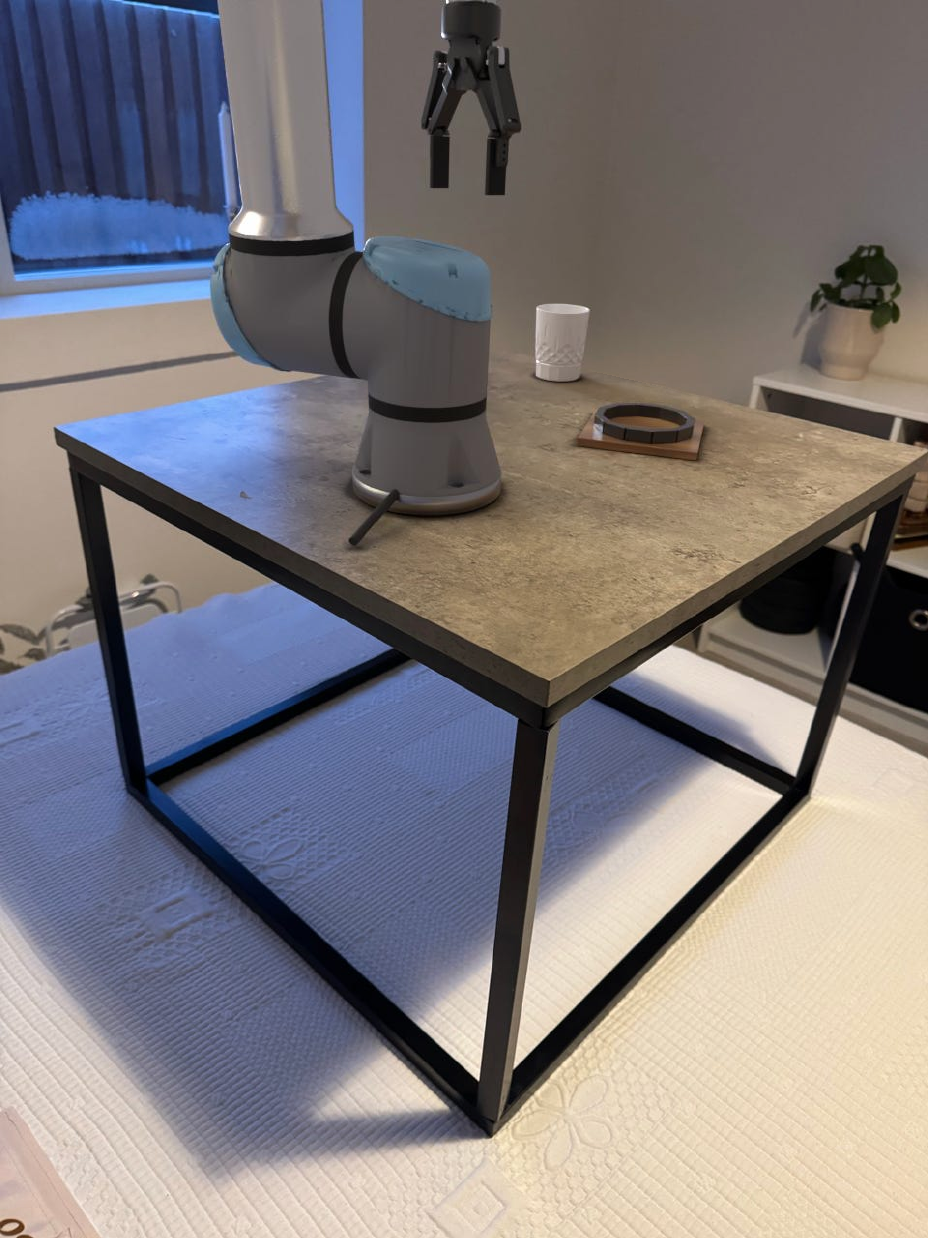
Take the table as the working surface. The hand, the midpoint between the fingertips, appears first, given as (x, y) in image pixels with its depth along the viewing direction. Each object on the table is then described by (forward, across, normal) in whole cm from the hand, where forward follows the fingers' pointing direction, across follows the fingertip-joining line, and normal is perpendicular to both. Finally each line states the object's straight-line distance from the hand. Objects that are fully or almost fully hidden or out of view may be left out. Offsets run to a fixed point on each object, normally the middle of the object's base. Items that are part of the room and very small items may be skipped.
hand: (466, 191), depth 118 cm
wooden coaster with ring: (+25, -36, -3) cm, 44 cm away
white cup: (+25, -8, -13) cm, 29 cm away
